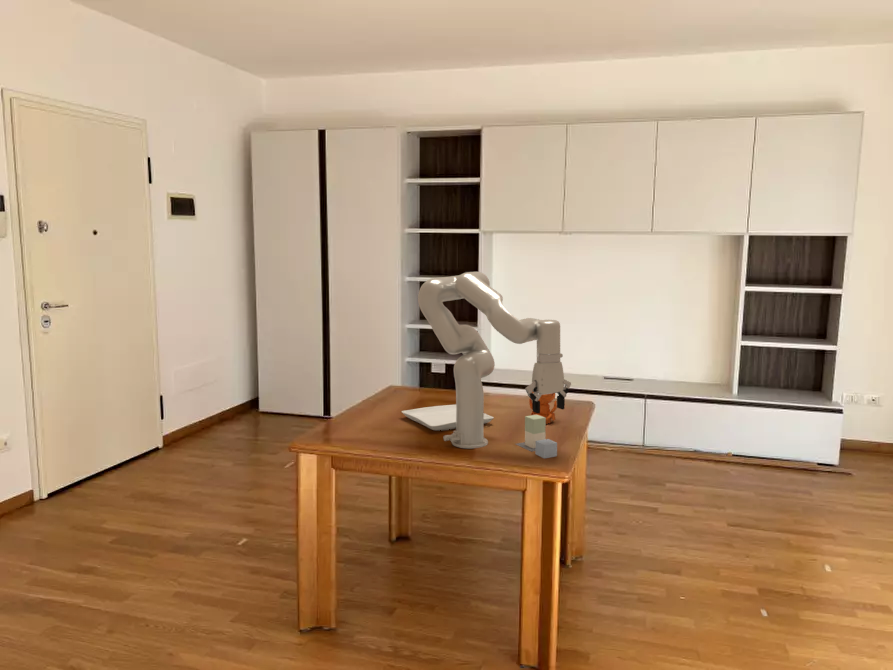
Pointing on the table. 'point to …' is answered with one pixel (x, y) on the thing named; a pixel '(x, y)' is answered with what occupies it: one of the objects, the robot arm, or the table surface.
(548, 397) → the orange sculpted figure
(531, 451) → the mat
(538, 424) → the pale green cube
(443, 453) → the table surface
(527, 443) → the beige cube
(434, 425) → the square plate
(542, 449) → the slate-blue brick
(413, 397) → the table surface
